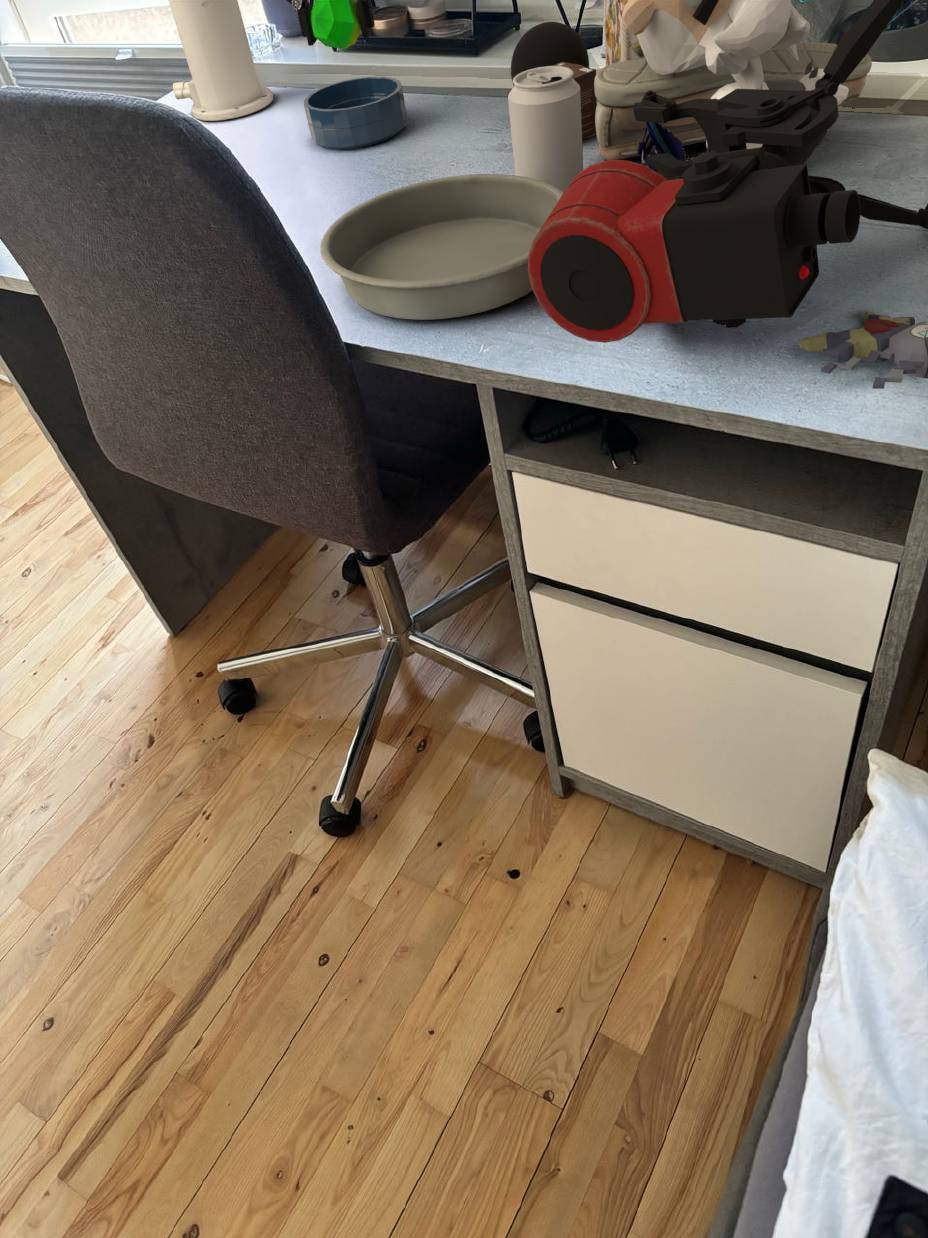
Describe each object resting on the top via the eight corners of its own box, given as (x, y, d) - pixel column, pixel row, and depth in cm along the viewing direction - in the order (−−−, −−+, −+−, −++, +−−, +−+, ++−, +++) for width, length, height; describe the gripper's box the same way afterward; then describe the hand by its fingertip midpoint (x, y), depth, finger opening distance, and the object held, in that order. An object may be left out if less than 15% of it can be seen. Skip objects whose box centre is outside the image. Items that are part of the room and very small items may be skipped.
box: (529, 140, 115) (524, 75, 110) (565, 125, 117) (562, 60, 112) (562, 150, 111) (558, 82, 106) (599, 134, 113) (597, 67, 108)
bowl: (301, 154, 123) (290, 114, 119) (328, 119, 131) (319, 81, 128) (395, 147, 120) (388, 105, 116) (417, 112, 129) (411, 72, 125)
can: (565, 210, 99) (558, 87, 90) (504, 204, 102) (492, 84, 93) (595, 182, 103) (592, 62, 94) (536, 177, 106) (528, 60, 98)
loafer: (858, 29, 102) (839, 118, 109) (590, 51, 104) (589, 137, 111) (885, 64, 95) (863, 156, 102) (597, 87, 97) (595, 176, 104)
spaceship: (650, 167, 96) (632, 199, 101) (704, 165, 97) (683, 197, 102) (634, 106, 97) (616, 141, 102) (687, 106, 99) (667, 140, 104)
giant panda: (707, 188, 98) (712, 89, 91) (695, 168, 101) (699, 72, 95) (846, 166, 97) (863, 65, 90) (829, 147, 101) (844, 49, 94)
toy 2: (894, 278, 76) (1079, 304, 64) (890, 324, 78) (1069, 358, 66) (764, 332, 71) (940, 371, 59) (764, 380, 73) (933, 426, 61)
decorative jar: (697, 95, 117) (704, -78, 105) (721, 125, 109) (733, -60, 96) (604, 111, 118) (599, -60, 105) (621, 142, 110) (619, -39, 97)
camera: (972, 227, 82) (869, 426, 69) (667, 251, 101) (539, 412, 87) (971, -108, 66) (837, 66, 53) (609, -6, 84) (440, 142, 71)
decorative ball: (605, 108, 119) (603, 19, 112) (538, 129, 117) (532, 40, 110) (564, 91, 126) (560, 6, 119) (501, 112, 124) (492, 26, 117)
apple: (335, 45, 113) (388, 50, 119) (330, -17, 110) (385, -9, 116) (298, 51, 117) (351, 55, 123) (293, -9, 114) (347, -1, 120)
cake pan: (567, 201, 99) (564, 157, 96) (585, 312, 82) (583, 263, 79) (343, 231, 101) (334, 189, 98) (316, 344, 84) (303, 298, 81)
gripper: (382, -159, 106) (410, 21, 118) (239, -134, 108) (281, 39, 121) (373, -150, 101) (403, 37, 113) (223, -124, 103) (268, 56, 116)
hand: (340, 37), depth 117 cm, fingers closed on apple, 6 cm apart
